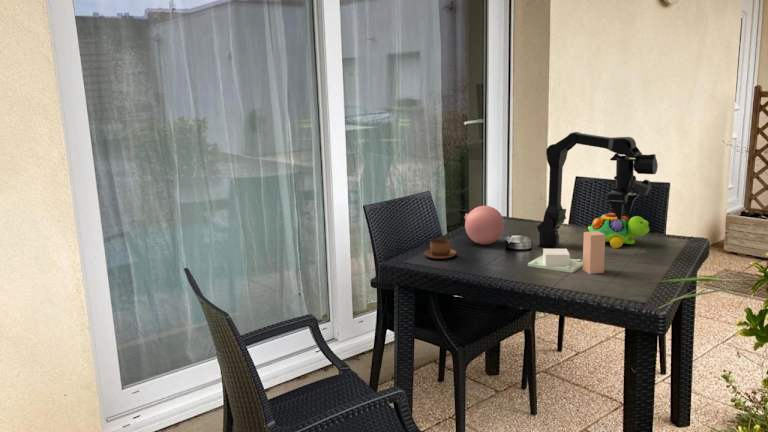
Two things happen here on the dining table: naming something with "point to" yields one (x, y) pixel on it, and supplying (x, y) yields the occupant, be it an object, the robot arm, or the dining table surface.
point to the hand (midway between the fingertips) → (623, 216)
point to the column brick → (593, 252)
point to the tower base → (558, 268)
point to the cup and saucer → (440, 249)
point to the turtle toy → (620, 228)
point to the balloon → (484, 224)
